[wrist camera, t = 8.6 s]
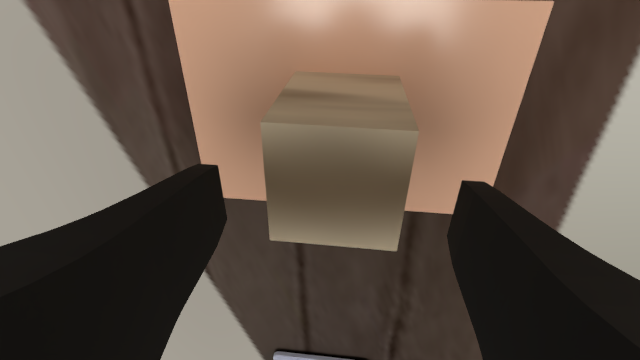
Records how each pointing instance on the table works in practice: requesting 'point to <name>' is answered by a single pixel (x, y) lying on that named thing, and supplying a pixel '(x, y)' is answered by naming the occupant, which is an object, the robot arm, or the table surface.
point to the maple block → (338, 160)
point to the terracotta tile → (362, 58)
